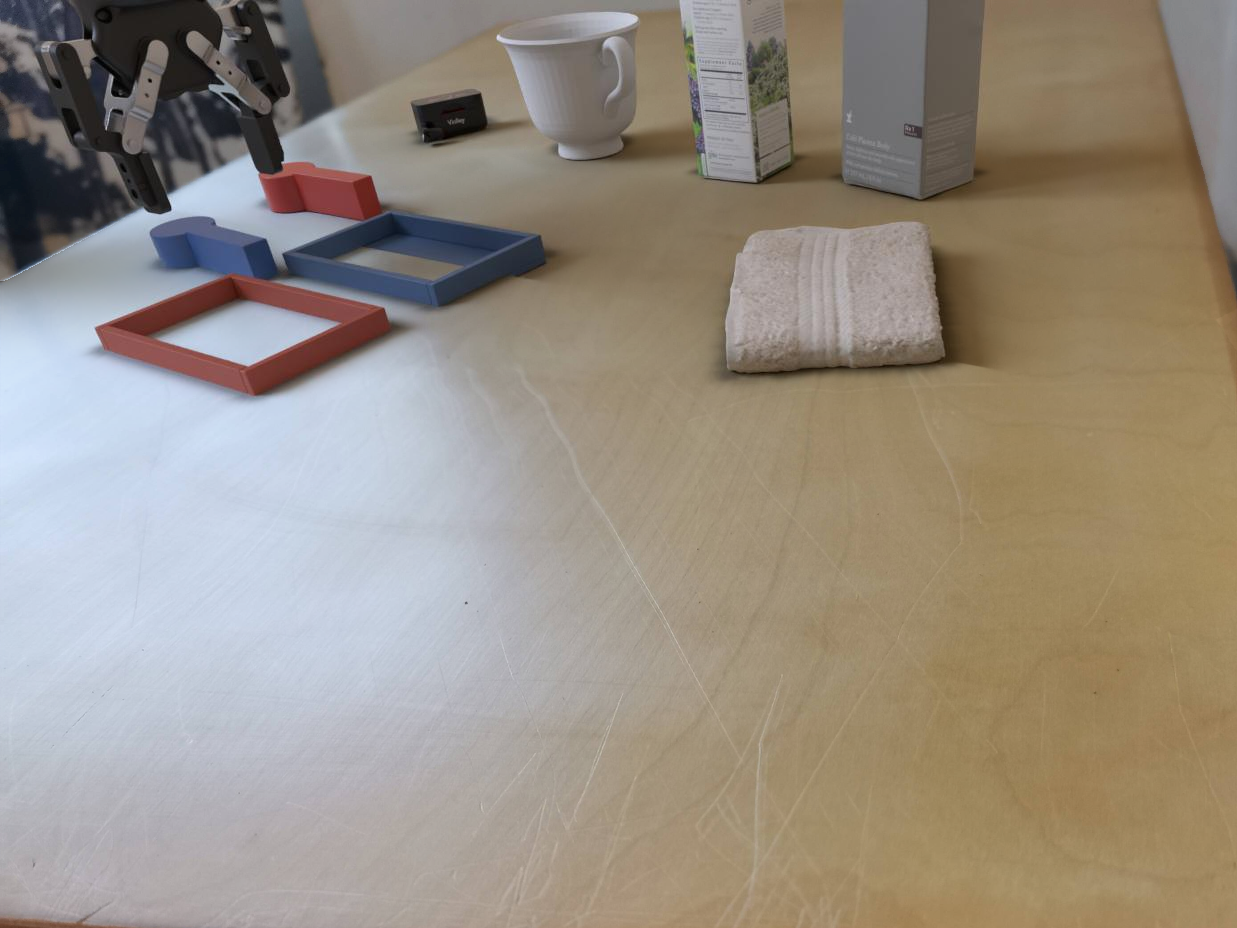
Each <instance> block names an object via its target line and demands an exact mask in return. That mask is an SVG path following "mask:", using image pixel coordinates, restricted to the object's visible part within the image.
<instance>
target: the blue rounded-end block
mask: <svg viewBox="0 0 1237 928" xmlns="http://www.w3.org/2000/svg"><path fill="white" fill-rule="evenodd" d="M149 236H150V238H151V241H152V244H153V246H154V248H155V251H156V253H157V255H158V257H159V260H160V262H161V265H162V266H163V267H164V268H166V269H171V270H183V269H190V268H191V269H192V268H196V267H199V268H203V269H205V270H206V269H207V270H210V271H213V272H217V273H220V274H223V275H224V274H225V275H228V274H231V273H236V274H240V275H245V276H249V277H253V278H258V279H262V280H266V281H267V280H268V279H271V278H274V277H276V276H279V275H280V272H279V269H278V267H277V264H276V262H275V259H274V255H273V253H272V250H271V247H270V244H269V241H268V239H267V238H266V237H261V236H258V235H254V234H250V233H247V232H242V231H238V230H235V229H231V228H227V227H223V226H219V225H217V222H216V219H214V218H213V217H211V216H205V215H197V216H196V215H194V216H187V217H181V218H176V219H171V220H169V221H166V222H162V223H160V224H158V225H156V226H154V227H152V228H151V229H150V231H149Z"/></svg>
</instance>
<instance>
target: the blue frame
mask: <svg viewBox="0 0 1237 928" xmlns="http://www.w3.org/2000/svg"><path fill="white" fill-rule="evenodd" d="M359 248H368V249H372V250H377V251H382V252H383V251H384V252H389V253H393V254H397V255H403V256H408V257H414V258H419V259H425V260H429V261H435V262H439V263H445V264H451V265H454V266H460V267H459V268H457V269H455V270H453V271H451V272H449V273H447V274H445V275H442V276H440V277H438V278H436V279H434V280H431V279H429V278H428V279H427V278H422V277H417V276H413V275H409V274H404V273H400V272H399V273H398V272H393V271H390V270H389V271H388V270H384V269H380V268H374V267H370V266H365V265H360V264H355V263H350V262H345V261H341V260H335V259H336V258H337V257H340V256H343V255H344V254H347V253H350V252H352V251H354V250H357V249H359ZM281 256H282V258H283V260H284V264H285V267H286V270H287V272H288V274H289V275H293V276H298V277H302V278H307V279H312V280H316V281H320V282H325V283H329V284H334V285H338V286H343V287H347V288H352V289H356V290H362V291H366V292H371V293H375V294H379V295H383V296H388V297H393V298H397V299H402V300H407V301H411V302H416V303H420V304H424V305H428V306H433V307H438V308H439V307H442V306H444V305H446V304H448V303H449V302H452V301H454V300H456V299H458V298H461V297H462V296H464V295H466V294H468V293H470V292H472V291H474V290H477V289H479V288H481V287H484V286H485V285H487V284H489V283H491V282H493V281H495V280H498V279H499V278H502V277H504V276H505V275H506V276H512V277H519V276H521V275H522V274H525V273H527V272H529V271H531V270H533V269H536V268H537V267H539V266H541V265H543V264H545V263H547V258H546V253H545V247H544V243H543V238H542V235H541V234H540V233H539V234H538V233H532V232H527V231H520V230H515V229H507V228H502V227H495V226H490V225H485V224H484V225H483V224H479V223H472V222H466V221H461V220H455V219H450V218H443V217H437V216H431V215H425V214H419V213H413V212H408V211H401V210H395V209H390V210H388V211H384V212H382V214H380V215H377V216H375V217H372V218H370V219H367V220H365V221H363V220H361V221H360V222H357V223H355V224H352V225H350V226H347V227H345V228H342V229H340V230H337V231H335V232H332V233H330V234H327V235H324V236H322V237H320V238H317V239H315V240H312V241H309V242H307V243H304V244H301V245H299V246H297V247H294V248H291V249H289V250H286V251H284V252H282V253H281Z"/></svg>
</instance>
